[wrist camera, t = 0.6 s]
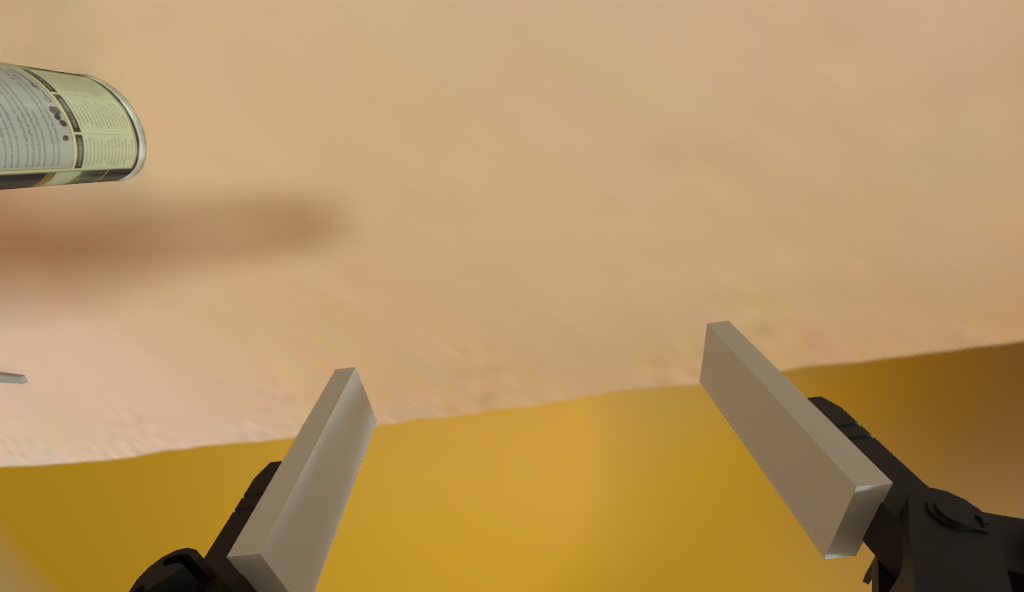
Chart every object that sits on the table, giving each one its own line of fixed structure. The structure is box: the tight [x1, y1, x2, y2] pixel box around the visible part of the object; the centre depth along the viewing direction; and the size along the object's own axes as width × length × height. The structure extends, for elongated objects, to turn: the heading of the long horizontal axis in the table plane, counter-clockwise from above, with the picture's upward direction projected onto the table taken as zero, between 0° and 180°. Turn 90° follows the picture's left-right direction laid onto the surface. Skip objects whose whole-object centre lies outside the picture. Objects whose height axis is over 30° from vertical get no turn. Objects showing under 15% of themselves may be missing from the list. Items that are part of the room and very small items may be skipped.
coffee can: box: [0, 62, 146, 190], centre depth 34 cm, size 10×10×14 cm
